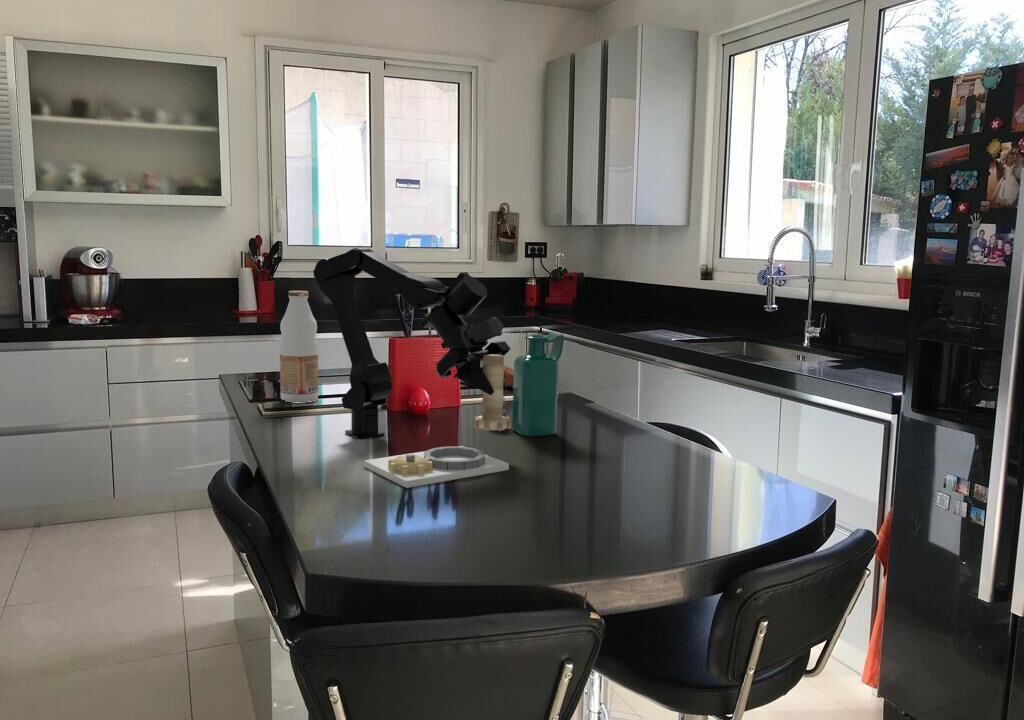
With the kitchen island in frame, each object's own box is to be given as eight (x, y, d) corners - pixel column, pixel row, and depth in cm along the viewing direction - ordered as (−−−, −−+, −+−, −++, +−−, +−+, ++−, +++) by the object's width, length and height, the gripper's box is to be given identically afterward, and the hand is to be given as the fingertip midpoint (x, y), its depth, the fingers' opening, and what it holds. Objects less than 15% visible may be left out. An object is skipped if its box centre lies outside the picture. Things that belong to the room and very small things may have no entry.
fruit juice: (280, 404, 219) (278, 292, 215) (280, 397, 228) (279, 289, 224) (318, 403, 222) (318, 292, 217) (317, 396, 231) (317, 290, 226)
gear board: (363, 466, 165) (363, 447, 164) (461, 451, 178) (462, 433, 177) (406, 487, 152) (406, 467, 151) (508, 469, 165) (509, 450, 164)
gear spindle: (466, 423, 174) (468, 354, 172) (500, 421, 177) (502, 352, 175) (482, 432, 167) (484, 359, 165) (517, 429, 170) (519, 357, 168)
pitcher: (523, 437, 191) (526, 337, 188) (509, 429, 199) (511, 332, 195) (564, 434, 194) (567, 336, 191) (549, 426, 202) (551, 331, 199)
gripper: (449, 307, 163) (498, 372, 159) (503, 301, 178) (548, 360, 174) (415, 345, 168) (461, 409, 164) (470, 336, 184) (514, 394, 180)
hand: (498, 391), depth 170 cm, fingers closed on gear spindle, 4 cm apart
